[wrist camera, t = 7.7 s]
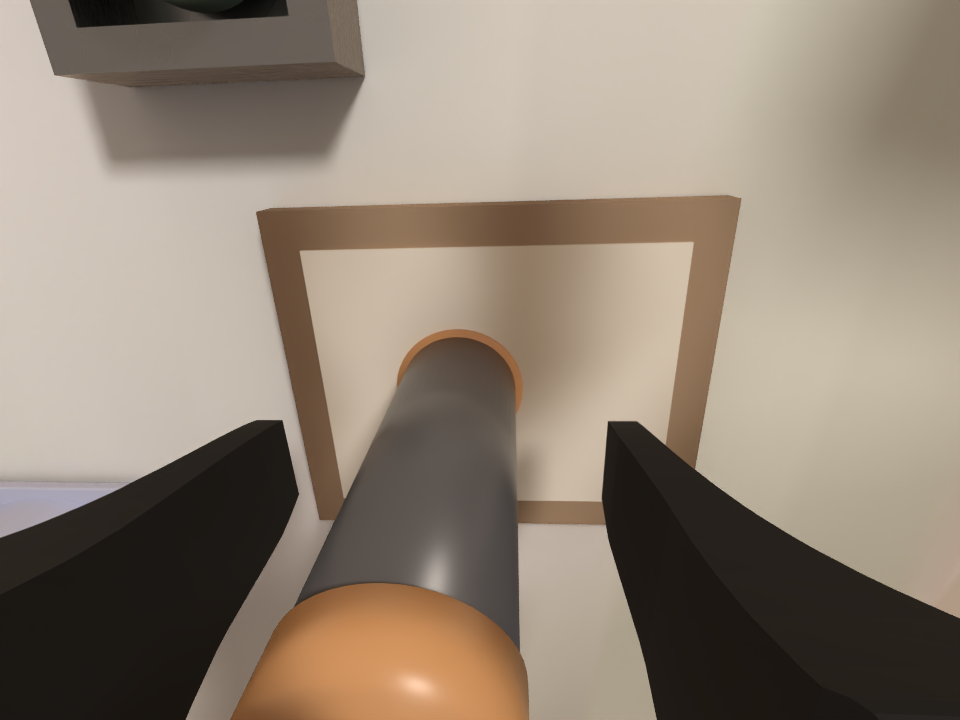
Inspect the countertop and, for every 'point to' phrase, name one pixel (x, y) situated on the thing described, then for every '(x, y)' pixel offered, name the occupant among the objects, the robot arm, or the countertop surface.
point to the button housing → (200, 41)
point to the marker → (414, 565)
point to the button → (204, 5)
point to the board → (505, 324)
